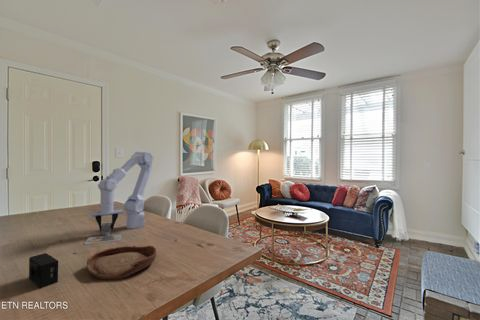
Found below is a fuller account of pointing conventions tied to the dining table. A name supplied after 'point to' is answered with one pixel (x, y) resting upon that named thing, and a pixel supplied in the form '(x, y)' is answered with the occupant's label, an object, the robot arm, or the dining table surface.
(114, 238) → the flange plate
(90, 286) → the dining table surface
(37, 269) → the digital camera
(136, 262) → the basket
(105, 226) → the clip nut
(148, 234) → the dining table surface
